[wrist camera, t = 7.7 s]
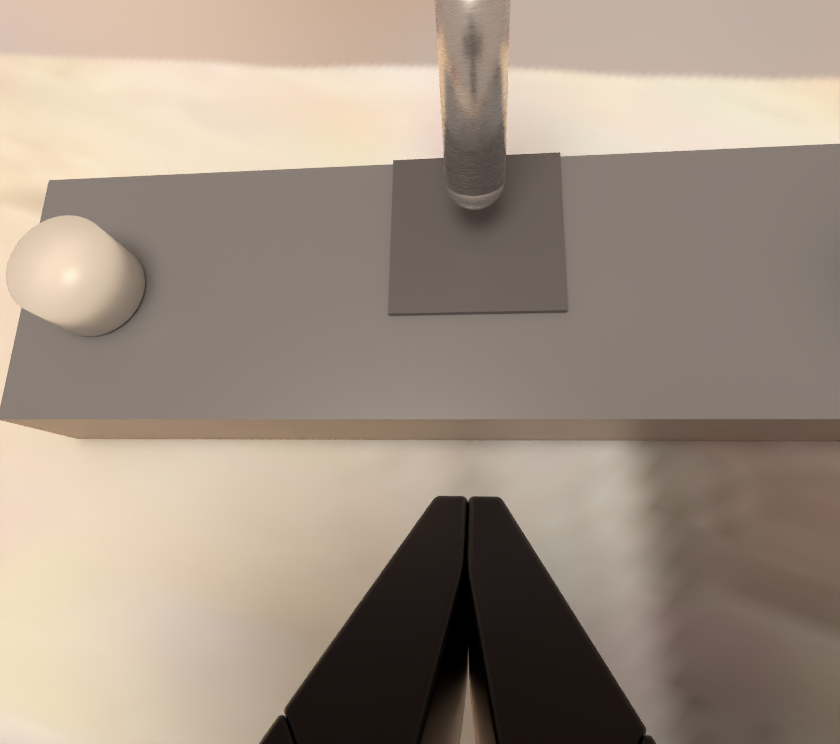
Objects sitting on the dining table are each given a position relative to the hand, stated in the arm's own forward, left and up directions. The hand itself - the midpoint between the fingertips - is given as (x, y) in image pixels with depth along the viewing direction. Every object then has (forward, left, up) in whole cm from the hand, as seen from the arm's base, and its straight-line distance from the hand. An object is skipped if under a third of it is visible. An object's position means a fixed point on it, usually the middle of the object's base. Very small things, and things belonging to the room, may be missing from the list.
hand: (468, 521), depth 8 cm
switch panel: (+5, -5, -11) cm, 13 cm away
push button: (+13, +4, -8) cm, 15 cm away
